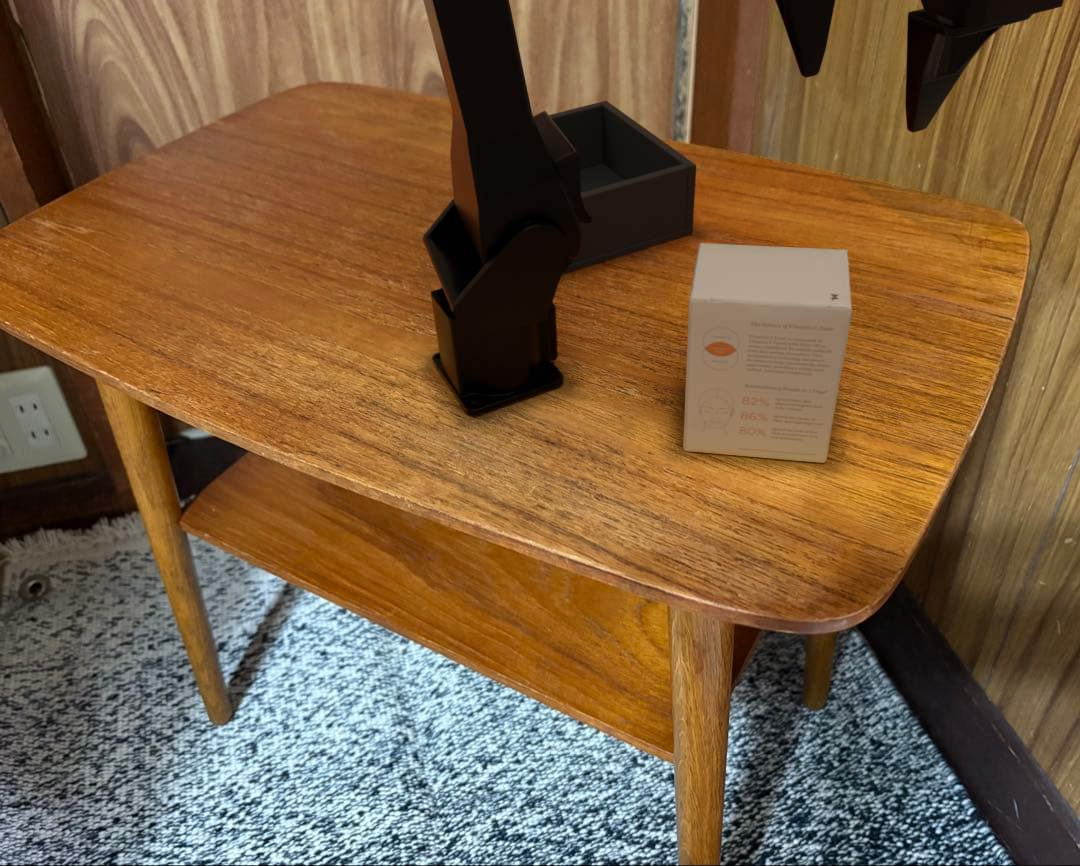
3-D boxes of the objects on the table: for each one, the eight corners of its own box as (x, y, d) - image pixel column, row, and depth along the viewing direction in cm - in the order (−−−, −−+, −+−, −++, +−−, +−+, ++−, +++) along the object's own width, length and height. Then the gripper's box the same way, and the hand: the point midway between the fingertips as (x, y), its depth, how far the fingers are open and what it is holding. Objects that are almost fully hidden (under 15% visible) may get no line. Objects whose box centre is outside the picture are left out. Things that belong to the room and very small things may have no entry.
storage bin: (556, 276, 70) (553, 205, 66) (482, 199, 79) (476, 133, 76) (693, 234, 73) (696, 164, 70) (606, 164, 83) (606, 100, 79)
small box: (825, 402, 58) (853, 247, 51) (826, 467, 54) (856, 307, 47) (689, 391, 60) (697, 238, 53) (680, 453, 56) (688, 296, 49)
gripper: (1212, -213, 43) (1093, 129, 53) (910, -254, 56) (861, 28, 66) (1025, -182, 39) (936, 177, 50) (748, -233, 52) (723, 61, 62)
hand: (860, 101), depth 57 cm, fingers open, 9 cm apart
